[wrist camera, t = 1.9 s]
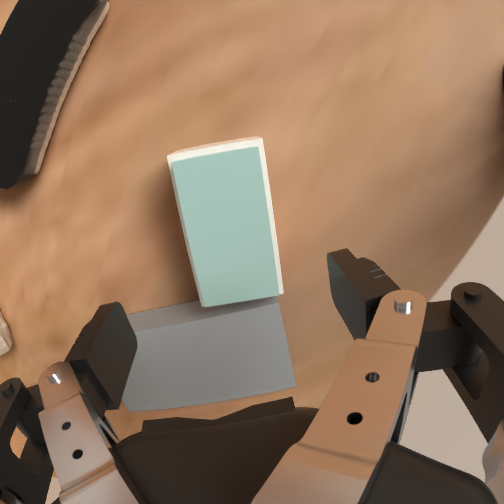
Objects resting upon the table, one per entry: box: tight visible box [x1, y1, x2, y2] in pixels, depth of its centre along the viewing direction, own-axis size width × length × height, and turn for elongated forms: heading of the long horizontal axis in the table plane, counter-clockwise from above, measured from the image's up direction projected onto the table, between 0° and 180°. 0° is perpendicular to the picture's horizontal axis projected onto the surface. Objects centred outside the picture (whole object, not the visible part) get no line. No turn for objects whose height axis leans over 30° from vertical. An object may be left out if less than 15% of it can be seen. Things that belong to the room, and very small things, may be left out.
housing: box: [167, 136, 284, 307], centre depth 21 cm, size 6×10×5 cm, turn 9°
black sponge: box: [0, 0, 109, 189], centre depth 17 cm, size 16×8×4 cm, turn 152°
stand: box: [121, 296, 297, 412], centre depth 26 cm, size 16×9×3 cm, turn 103°
